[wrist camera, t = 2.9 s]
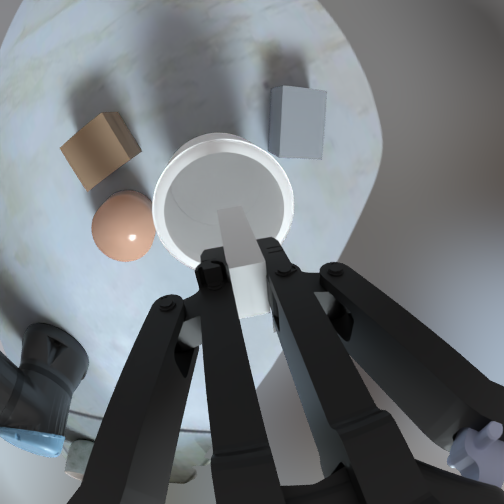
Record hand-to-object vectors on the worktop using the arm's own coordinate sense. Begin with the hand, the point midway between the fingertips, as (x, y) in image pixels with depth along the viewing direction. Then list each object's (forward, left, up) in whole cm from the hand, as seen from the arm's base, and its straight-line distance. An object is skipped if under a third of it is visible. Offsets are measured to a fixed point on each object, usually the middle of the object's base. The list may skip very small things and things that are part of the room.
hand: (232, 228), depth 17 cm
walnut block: (-12, +6, -18) cm, 22 cm away
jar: (0, 0, -18) cm, 18 cm away
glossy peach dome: (-12, -4, -18) cm, 22 cm away
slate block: (+10, +5, -18) cm, 21 cm away
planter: (-62, -77, -18) cm, 101 cm away
